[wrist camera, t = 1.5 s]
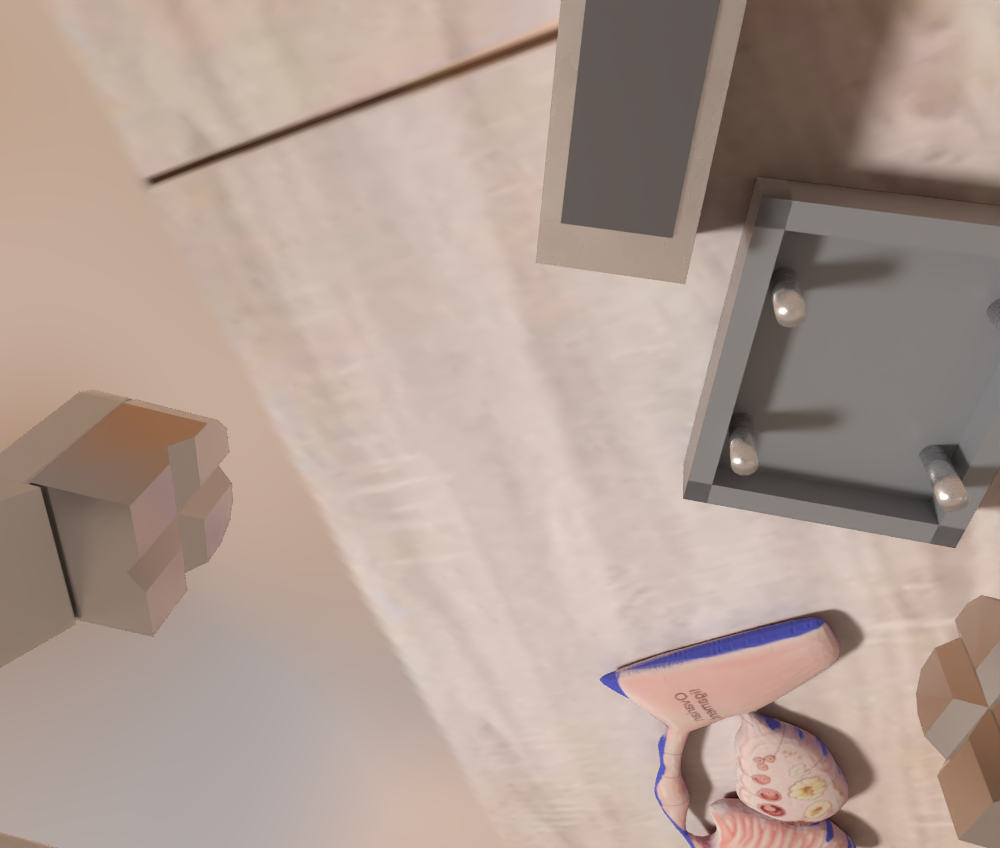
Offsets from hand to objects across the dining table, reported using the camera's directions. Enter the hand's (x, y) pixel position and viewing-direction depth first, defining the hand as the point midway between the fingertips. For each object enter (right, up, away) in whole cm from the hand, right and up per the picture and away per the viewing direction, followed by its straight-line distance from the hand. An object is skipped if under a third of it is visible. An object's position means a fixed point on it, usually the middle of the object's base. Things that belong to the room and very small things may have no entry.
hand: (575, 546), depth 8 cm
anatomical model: (+15, -18, +36) cm, 43 cm away
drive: (+4, +13, +18) cm, 23 cm away
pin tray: (+13, +4, +22) cm, 26 cm away
